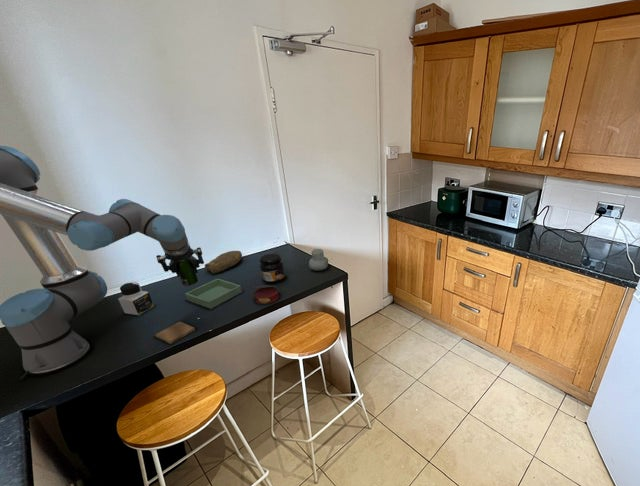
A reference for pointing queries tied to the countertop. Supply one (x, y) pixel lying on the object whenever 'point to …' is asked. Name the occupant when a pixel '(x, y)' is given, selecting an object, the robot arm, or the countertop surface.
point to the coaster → (175, 332)
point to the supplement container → (272, 268)
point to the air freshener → (318, 260)
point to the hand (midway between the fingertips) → (187, 271)
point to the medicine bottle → (134, 299)
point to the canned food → (266, 294)
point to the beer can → (187, 273)
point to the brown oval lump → (224, 261)
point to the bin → (213, 293)
